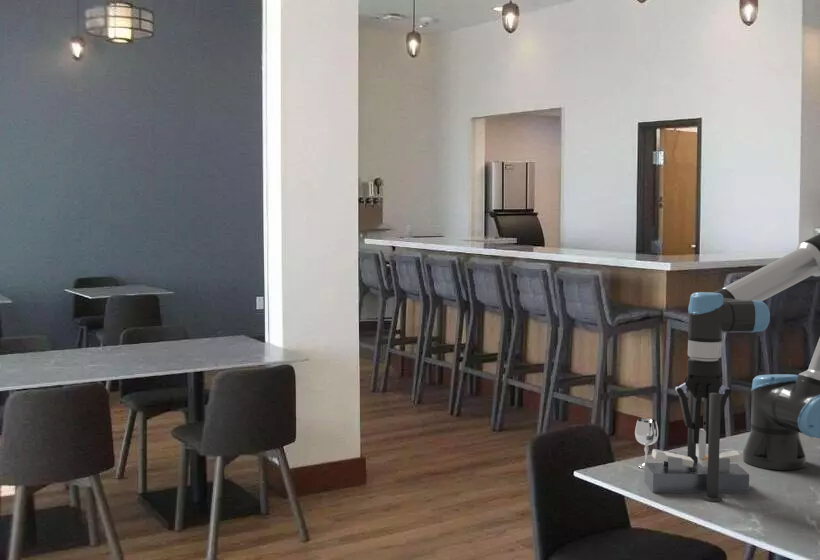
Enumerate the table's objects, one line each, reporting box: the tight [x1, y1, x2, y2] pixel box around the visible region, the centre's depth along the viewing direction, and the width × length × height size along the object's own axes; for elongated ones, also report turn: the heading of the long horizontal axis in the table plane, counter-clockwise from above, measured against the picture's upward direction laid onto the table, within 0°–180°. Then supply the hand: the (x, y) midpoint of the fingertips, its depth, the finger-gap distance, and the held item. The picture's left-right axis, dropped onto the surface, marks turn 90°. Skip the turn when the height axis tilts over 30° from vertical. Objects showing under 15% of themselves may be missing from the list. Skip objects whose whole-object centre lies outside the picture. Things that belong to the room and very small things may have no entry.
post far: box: [686, 390, 699, 463], centre depth 223 cm, size 4×4×24 cm
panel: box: [644, 451, 750, 495], centre depth 215 cm, size 22×9×8 cm, turn 87°
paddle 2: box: [698, 450, 743, 467], centre depth 214 cm, size 9×4×2 cm, turn 87°
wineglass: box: [634, 418, 659, 470], centre depth 232 cm, size 6×6×12 cm
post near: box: [702, 392, 723, 503], centre depth 205 cm, size 4×4×24 cm
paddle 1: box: [651, 448, 694, 467], centre depth 215 cm, size 9×4×2 cm, turn 88°
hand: (700, 456), depth 214 cm, fingers closed
